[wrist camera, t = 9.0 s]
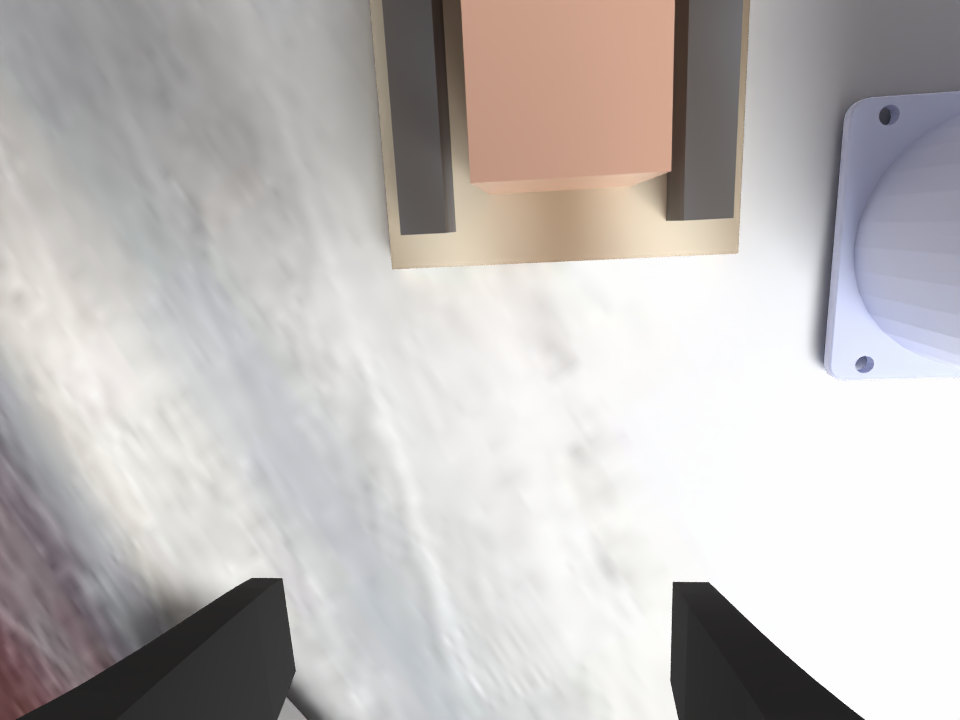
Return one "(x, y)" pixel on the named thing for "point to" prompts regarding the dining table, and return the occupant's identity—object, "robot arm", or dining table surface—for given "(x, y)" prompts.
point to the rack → (566, 213)
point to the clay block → (568, 93)
